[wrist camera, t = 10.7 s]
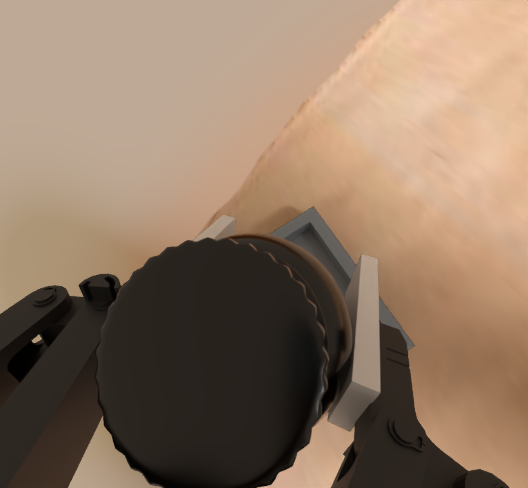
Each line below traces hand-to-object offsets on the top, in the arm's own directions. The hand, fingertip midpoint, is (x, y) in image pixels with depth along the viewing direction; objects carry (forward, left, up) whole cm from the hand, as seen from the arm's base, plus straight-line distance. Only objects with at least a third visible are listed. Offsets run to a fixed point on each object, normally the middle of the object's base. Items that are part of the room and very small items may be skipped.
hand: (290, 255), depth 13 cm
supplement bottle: (+3, +2, -4) cm, 5 cm away
